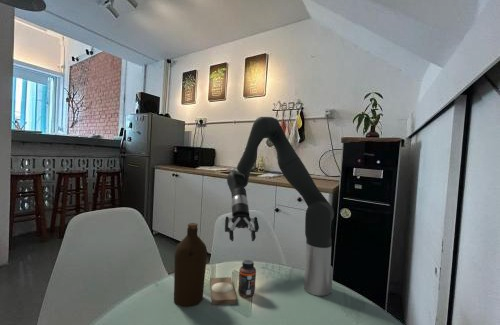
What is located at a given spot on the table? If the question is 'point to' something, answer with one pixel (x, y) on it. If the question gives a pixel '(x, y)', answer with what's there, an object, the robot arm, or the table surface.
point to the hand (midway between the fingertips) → (242, 240)
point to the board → (222, 291)
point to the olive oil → (189, 269)
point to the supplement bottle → (247, 279)
